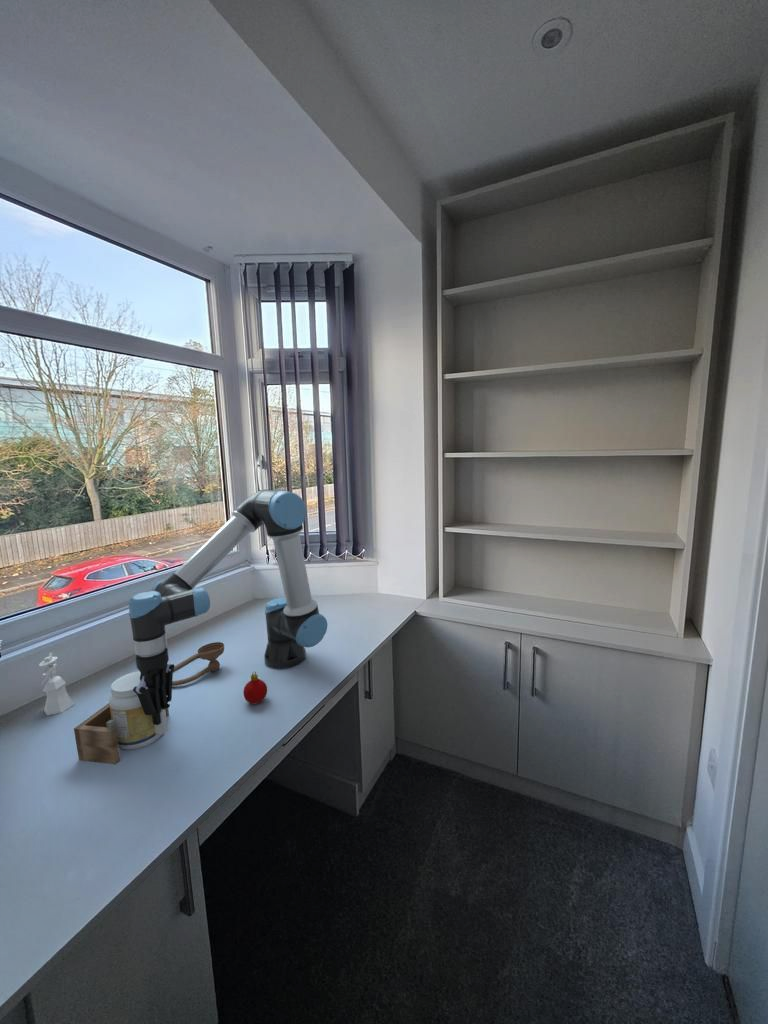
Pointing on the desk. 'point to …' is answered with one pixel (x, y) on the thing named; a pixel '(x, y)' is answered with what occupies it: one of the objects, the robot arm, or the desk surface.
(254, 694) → the christmas ornament
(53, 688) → the figurine
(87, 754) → the walnut holder
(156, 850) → the desk surface
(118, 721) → the supplement tub
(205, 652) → the brown curved horn
